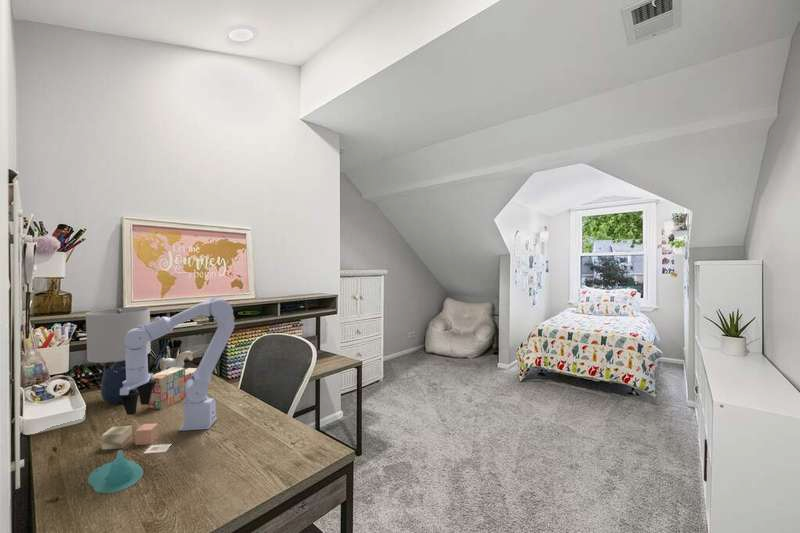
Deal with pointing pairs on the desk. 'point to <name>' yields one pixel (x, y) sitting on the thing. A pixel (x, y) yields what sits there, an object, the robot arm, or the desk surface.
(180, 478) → the desk surface
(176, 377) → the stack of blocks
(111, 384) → the lamp
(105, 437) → the birch base block
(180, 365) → the unicorn figurine
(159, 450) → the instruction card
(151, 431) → the terracotta cube
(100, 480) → the teal plastic funnel
